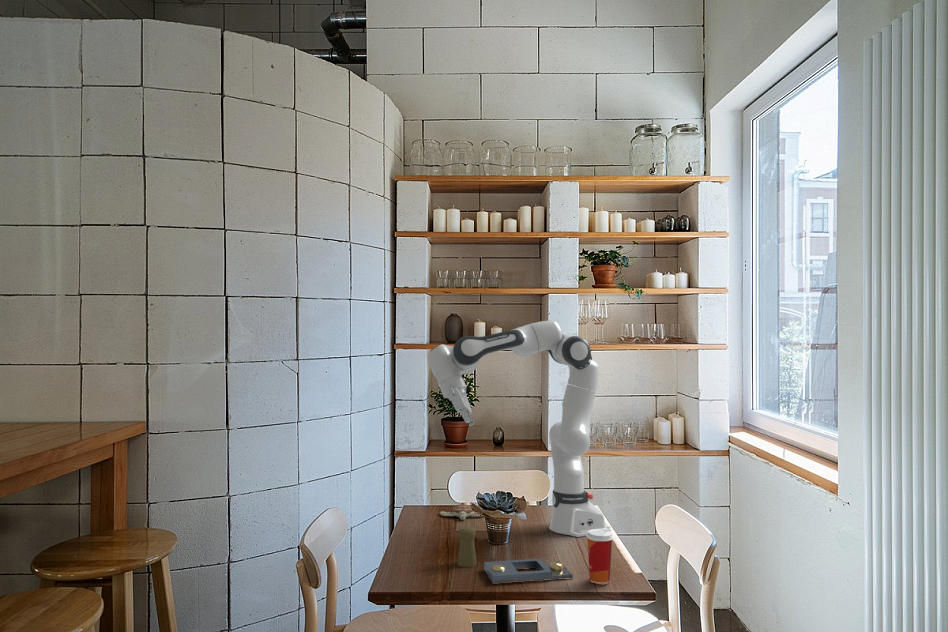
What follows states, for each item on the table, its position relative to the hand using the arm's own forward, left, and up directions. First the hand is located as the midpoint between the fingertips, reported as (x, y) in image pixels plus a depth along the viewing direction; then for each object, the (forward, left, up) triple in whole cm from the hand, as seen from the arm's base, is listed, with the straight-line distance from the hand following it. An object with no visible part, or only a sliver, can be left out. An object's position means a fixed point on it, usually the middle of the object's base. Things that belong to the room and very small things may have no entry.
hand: (470, 423), depth 216 cm
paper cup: (-30, +41, -41) cm, 65 cm away
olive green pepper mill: (+5, +20, -41) cm, 46 cm away
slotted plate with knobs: (-11, +32, -41) cm, 53 cm away
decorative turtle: (-4, -33, -41) cm, 53 cm away
